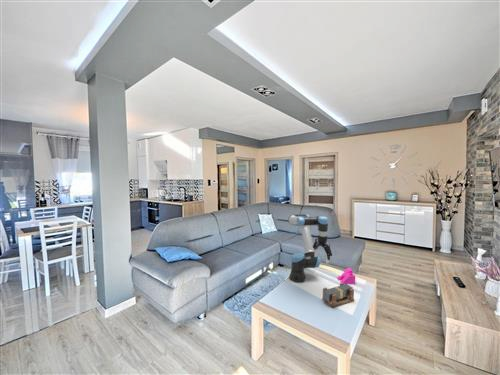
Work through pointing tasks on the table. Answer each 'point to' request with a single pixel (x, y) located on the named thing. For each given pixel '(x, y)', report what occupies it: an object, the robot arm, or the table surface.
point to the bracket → (347, 277)
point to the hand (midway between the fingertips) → (321, 259)
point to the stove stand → (339, 302)
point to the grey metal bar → (337, 292)
